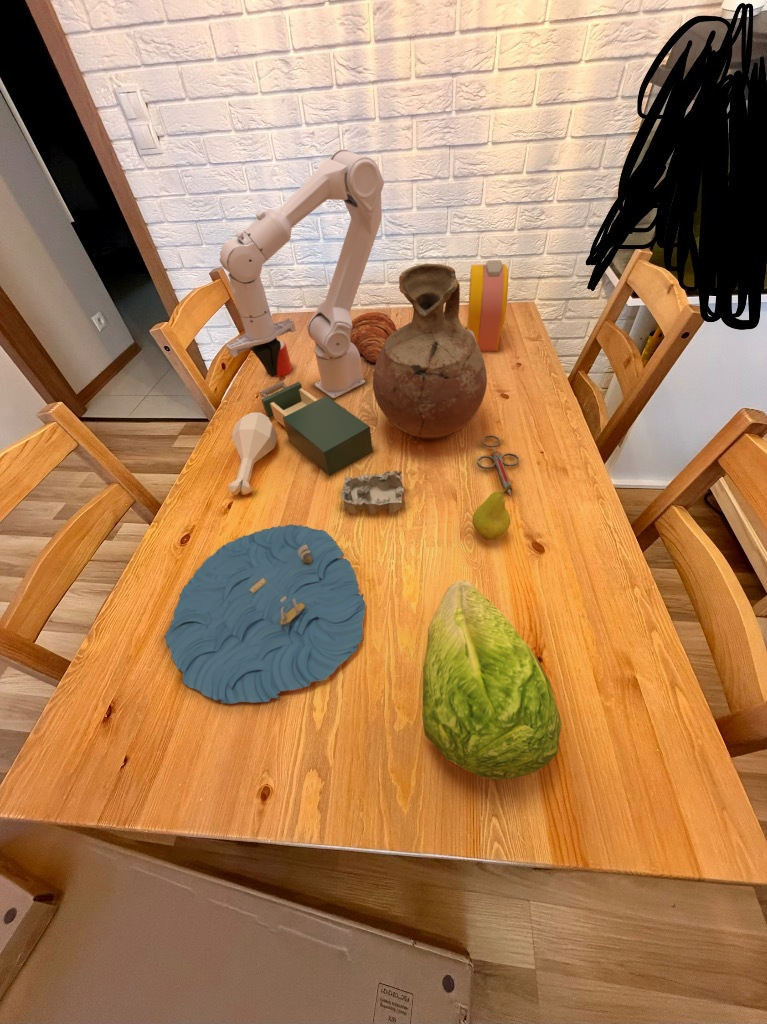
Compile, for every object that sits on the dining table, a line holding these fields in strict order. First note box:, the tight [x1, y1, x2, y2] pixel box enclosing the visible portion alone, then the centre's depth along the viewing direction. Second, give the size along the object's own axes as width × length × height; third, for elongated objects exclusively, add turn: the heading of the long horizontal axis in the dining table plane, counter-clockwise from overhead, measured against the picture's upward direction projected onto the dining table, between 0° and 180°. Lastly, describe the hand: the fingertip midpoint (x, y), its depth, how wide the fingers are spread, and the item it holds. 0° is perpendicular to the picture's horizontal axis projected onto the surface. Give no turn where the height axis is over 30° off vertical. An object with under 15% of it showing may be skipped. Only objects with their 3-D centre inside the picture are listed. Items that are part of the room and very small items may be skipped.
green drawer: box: [258, 380, 319, 428], centre depth 98 cm, size 18×9×4 cm, turn 40°
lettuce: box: [421, 579, 563, 781], centre depth 55 cm, size 15×24×14 cm, turn 3°
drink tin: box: [274, 339, 293, 378], centre depth 112 cm, size 6×6×7 cm
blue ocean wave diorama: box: [164, 524, 366, 705], centre depth 67 cm, size 30×30×5 cm
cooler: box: [283, 395, 374, 477], centre depth 91 cm, size 15×11×6 cm
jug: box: [372, 263, 488, 440], centre depth 84 cm, size 22×22×30 cm
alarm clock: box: [466, 259, 509, 352], centre depth 111 cm, size 15×8×18 cm, turn 173°
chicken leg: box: [227, 411, 278, 496], centre depth 88 cm, size 8×18×8 cm, turn 175°
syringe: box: [476, 434, 520, 502], centre depth 85 cm, size 8×18×2 cm, turn 4°
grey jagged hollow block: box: [340, 470, 405, 515], centre depth 81 cm, size 11×8×4 cm
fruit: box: [471, 484, 512, 541], centre depth 71 cm, size 6×6×12 cm
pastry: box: [350, 311, 397, 364], centre depth 117 cm, size 17×15×8 cm
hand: (272, 374), depth 98 cm, fingers closed
